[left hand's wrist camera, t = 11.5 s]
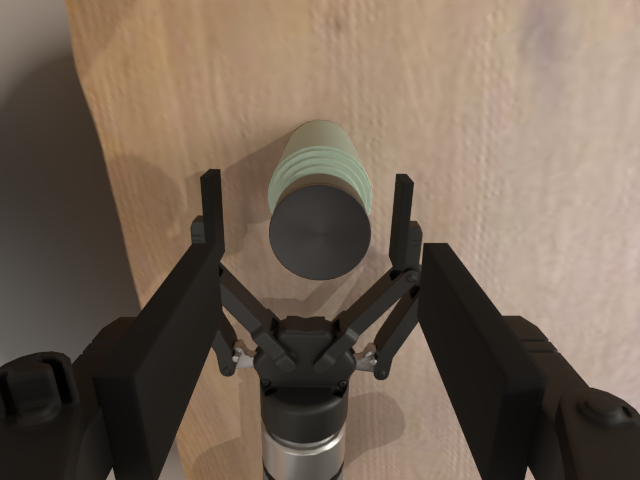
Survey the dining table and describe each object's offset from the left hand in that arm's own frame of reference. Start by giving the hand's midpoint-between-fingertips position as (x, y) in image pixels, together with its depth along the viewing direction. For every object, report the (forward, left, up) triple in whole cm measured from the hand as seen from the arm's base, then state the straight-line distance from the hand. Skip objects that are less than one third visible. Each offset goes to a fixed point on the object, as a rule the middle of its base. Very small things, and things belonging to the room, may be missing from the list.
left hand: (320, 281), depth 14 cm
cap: (0, 0, -5) cm, 5 cm away
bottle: (0, 0, -24) cm, 24 cm away
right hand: (0, -1, -17) cm, 17 cm away
